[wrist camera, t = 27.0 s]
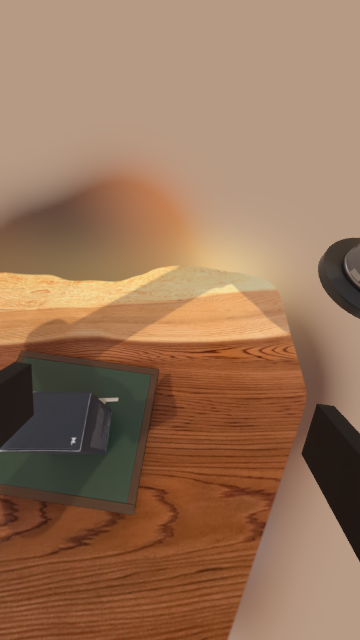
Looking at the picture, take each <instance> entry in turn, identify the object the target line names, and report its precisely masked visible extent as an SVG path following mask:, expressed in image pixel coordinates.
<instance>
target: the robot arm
mask: <svg viewBox="0 0 360 640" xmlns="http://www.w3.org/2000/svg"><path fill="white" fill-rule="evenodd" d="M342 270H343V273H344V275H345V277H346V278H347V280H348V281H349V282H350V284H351V285H352V286H353V287H354V288H356V289H357V290H358V291H359V292H360V244H358V245H356V246H355V247H354V248H352V249H351V250H350V251H349V252H348V253H347V254H346V256H345V257H344V258H343V261H342ZM33 415H34V406H33V385H32V364H28V363H21V362H14V363H12V364H11V365H9V366H7V367H6V368H4V369H2V370H1V371H0V448H1V447H2V446H3V445H4V444H5V443H6V442H7V441H8V440H9V439H10V438H11V437H12V436H13V435H14V434H15V433H16V432H17V431H18V430H19V429H20V428H21V427H22V426H23V425H24V424H25V423H26V422H27V421H28V420H29V419H30V418H31V417H32V416H33ZM302 456H303V457H304V459H305V461H306V463H307V465H308V467H309V468H310V470H311V472H312V474H313V476H314V478H315V480H316V482H317V483H318V485H319V487H320V489H321V491H322V493H323V494H324V496H325V498H326V500H327V502H328V504H329V506H330V508H331V509H332V511H333V513H334V515H335V516H336V519H337V520H338V522H339V524H340V526H341V528H342V530H343V532H344V533H345V535H346V537H347V539H348V541H349V543H350V545H351V546H352V548H353V550H354V552H355V554H356V556H357V557H358V559H359V561H360V433H359V432H358V431H357V430H356V429H355V428H354V427H353V426H352V425H351V424H350V423H349V422H348V420H347V419H346V418H345V417H344V416H343V415H342V414H341V413H340V412H339V411H338V410H337V409H336V408H335V407H334V406H330V405H322V404H317V405H316V409H315V412H314V415H313V418H312V421H311V425H310V428H309V431H308V434H307V438H306V441H305V444H304V447H303V450H302Z"/></svg>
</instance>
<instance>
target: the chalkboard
mask: <svg viewBox="0 0 360 640" xmlns="http://www.w3.org/2000/svg"><path fill="white" fill-rule="evenodd" d="M16 362H21V363H28V364H32V385H33V392H91V393H92V394H93V395H95V396H96V397H97V398H98V399H99V400H101V401H102V402H103V403H104V404H105V405H107V406H108V407H109V408H110V409H111V410H112V415H111V422H110V429H109V436H108V443H107V449H106V454H45V453H25V452H0V495H7V496H13V497H20V498H26V499H33V500H39V501H46V502H52V503H59V504H65V505H71V506H78V507H84V508H91V509H97V510H104V511H110V512H117V513H123V514H130V515H133V514H134V511H135V505H136V499H137V494H138V488H139V482H140V477H141V471H142V465H143V460H144V454H145V448H146V443H147V437H148V431H149V426H150V420H151V414H152V409H153V403H154V397H155V392H156V386H157V380H158V374H159V369H152V368H145V367H138V366H131V365H123V364H116V363H109V362H102V361H94V360H87V359H80V358H72V357H65V356H58V355H51V354H43V353H36V352H29V351H21V353H20V355H19V357H18V359H17V361H16Z"/></svg>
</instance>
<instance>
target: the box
mask: <svg viewBox="0 0 360 640" xmlns="http://www.w3.org/2000/svg"><path fill="white" fill-rule="evenodd" d="M33 406H34V415H33V416H32V417H31V418H30V419H29V420H28V421H27V422H26V423H25V424H24V425H23V426H22V427H21V428H20V429H19V430H18V431H17V432H16V433H15V434H14V435H13V436H12V437H11V438H10V439H9V440H8V441H7V442H6V443H5V444H4V445H3V446H2V447H1V448H0V452H25V453H45V454H106V449H107V443H108V436H109V429H110V422H111V415H112V410H111V409H110V408H109V407H108V406H107V405H105V404H104V403H103V402H102V401H101V400H99V399H98V398H97V397H96V396H95V395H93V394H92V393H91V392H33Z"/></svg>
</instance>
